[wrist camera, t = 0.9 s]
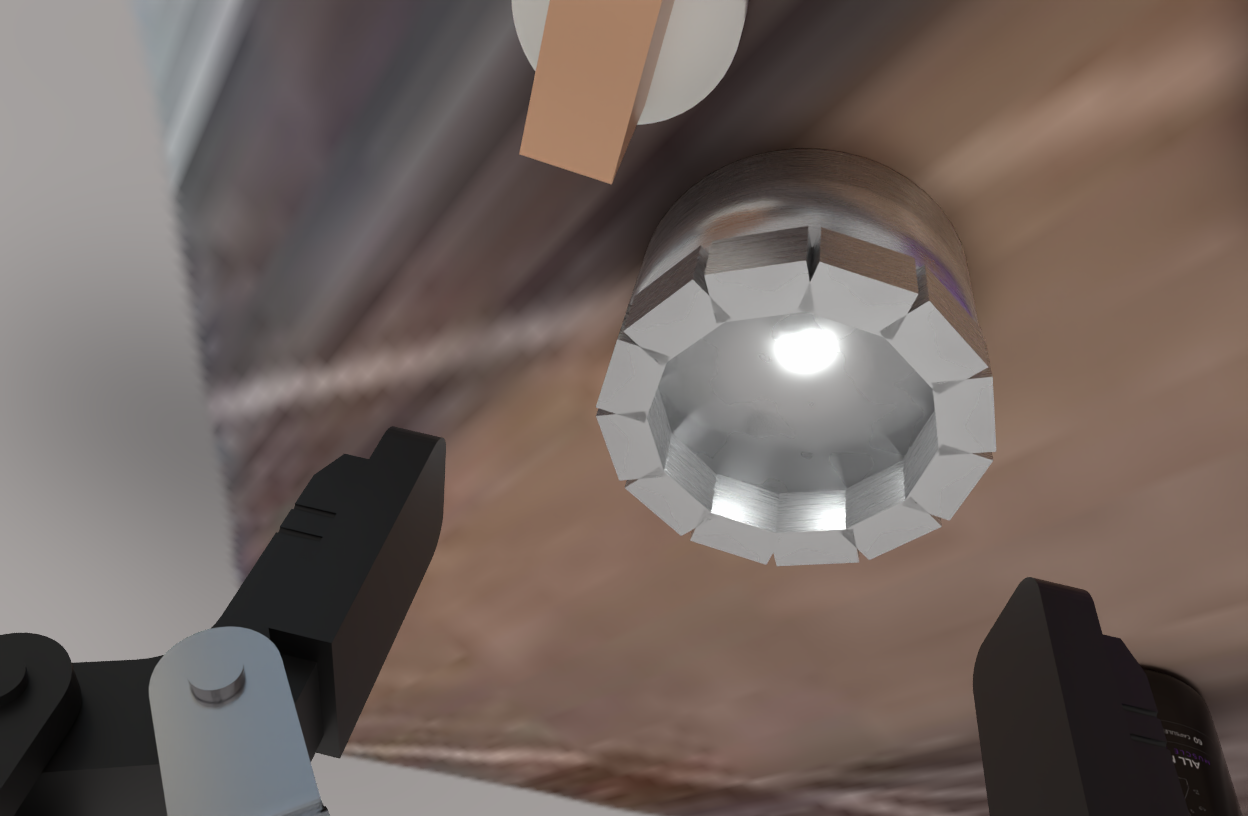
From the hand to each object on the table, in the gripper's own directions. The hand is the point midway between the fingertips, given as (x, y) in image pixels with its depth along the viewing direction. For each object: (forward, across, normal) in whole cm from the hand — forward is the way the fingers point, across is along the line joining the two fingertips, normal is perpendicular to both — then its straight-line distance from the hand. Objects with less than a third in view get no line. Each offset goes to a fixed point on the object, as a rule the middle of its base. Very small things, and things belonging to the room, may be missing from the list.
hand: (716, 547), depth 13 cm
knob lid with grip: (+19, +5, -2) cm, 20 cm away
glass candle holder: (+19, -2, +7) cm, 21 cm away
